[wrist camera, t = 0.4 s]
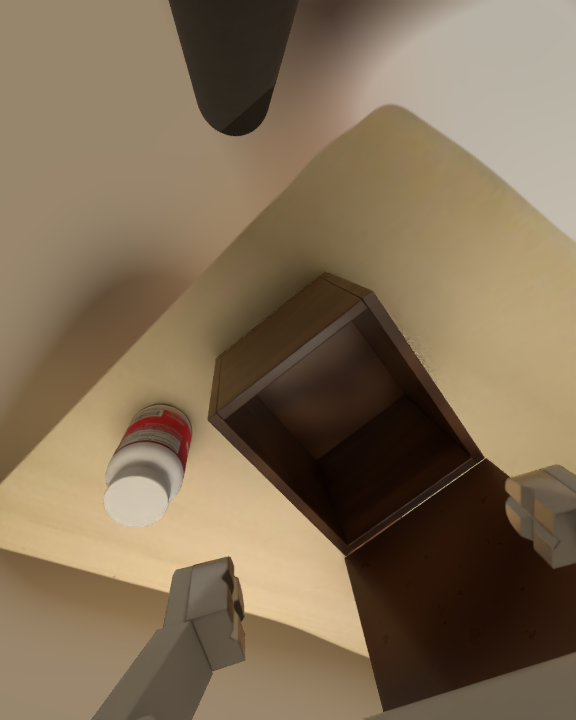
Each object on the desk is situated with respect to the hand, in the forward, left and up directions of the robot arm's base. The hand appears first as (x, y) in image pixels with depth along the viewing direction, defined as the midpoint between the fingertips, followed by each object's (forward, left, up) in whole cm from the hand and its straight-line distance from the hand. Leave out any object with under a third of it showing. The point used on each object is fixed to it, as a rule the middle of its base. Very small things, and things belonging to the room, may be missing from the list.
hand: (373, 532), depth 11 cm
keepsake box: (+8, 0, -27) cm, 28 cm away
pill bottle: (+2, -16, -28) cm, 32 cm away
